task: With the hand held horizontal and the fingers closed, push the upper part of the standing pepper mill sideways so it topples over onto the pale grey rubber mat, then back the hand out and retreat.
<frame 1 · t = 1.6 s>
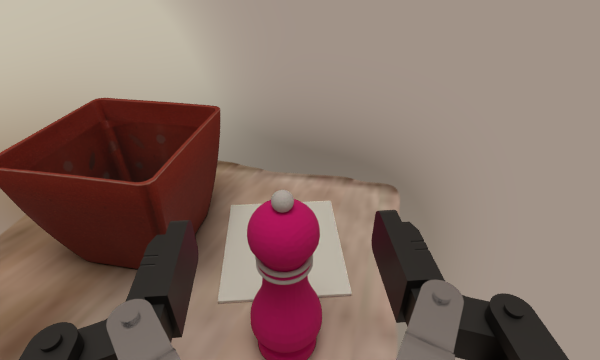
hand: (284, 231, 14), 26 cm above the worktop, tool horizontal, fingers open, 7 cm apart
pepper mill: (287, 340, 38), on the worktop
plant pot: (151, 235, 52), on the worktop
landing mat: (283, 245, 50), on the worktop
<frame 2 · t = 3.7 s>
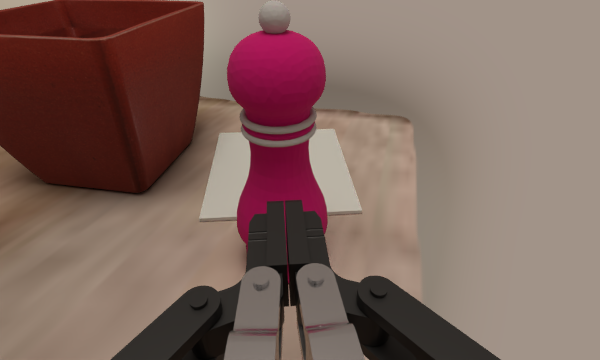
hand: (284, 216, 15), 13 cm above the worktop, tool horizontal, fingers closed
pepper mill: (284, 257, 31), on the worktop
plant pot: (125, 161, 44), on the worktop
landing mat: (279, 168, 42), on the worktop
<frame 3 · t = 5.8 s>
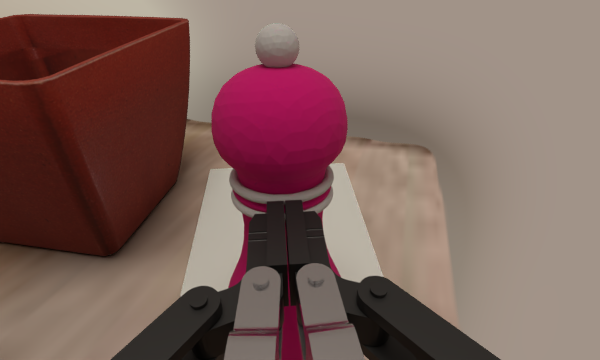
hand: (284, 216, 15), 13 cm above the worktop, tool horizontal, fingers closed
pepper mill: (288, 354, 23), on the worktop
plant pot: (96, 207, 37), on the worktop
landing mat: (280, 217, 35), on the worktop
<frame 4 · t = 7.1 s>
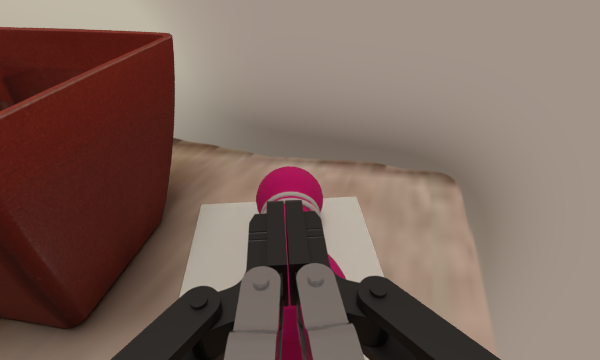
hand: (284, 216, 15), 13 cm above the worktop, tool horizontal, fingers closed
plant pot: (65, 255, 31), on the worktop
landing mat: (283, 271, 29), on the worktop
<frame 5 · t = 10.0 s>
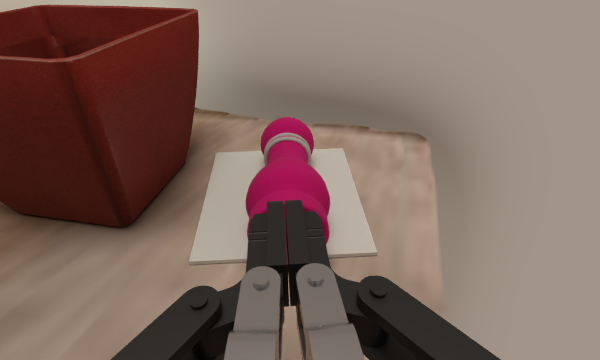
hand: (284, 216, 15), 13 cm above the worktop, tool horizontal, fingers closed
pepper mill: (288, 238, 26), point 4 cm above the worktop, touching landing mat
plant pot: (111, 185, 40), on the worktop
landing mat: (282, 196, 38), on the worktop
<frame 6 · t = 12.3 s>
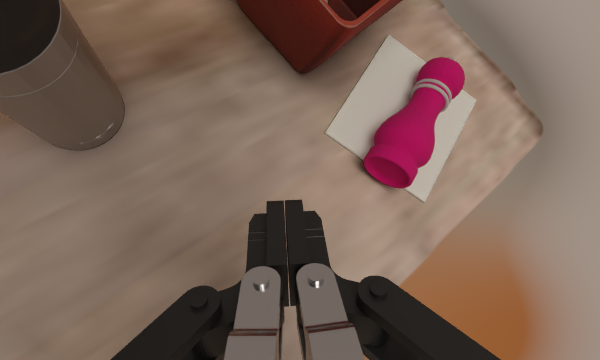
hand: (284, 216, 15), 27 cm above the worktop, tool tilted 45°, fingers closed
pepper mill: (385, 174, 41), point 4 cm above the worktop, touching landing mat
plant pot: (303, 16, 48), on the worktop
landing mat: (404, 116, 48), on the worktop
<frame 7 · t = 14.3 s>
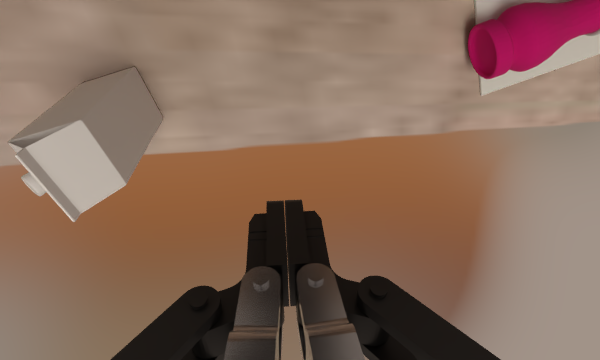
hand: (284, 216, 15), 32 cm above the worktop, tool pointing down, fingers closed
pepper mill: (479, 53, 40), point 4 cm above the worktop, touching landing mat
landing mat: (552, 7, 42), on the worktop
milk carton: (125, 100, 44), on the worktop
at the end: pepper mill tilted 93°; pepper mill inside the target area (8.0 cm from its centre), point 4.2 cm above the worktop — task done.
